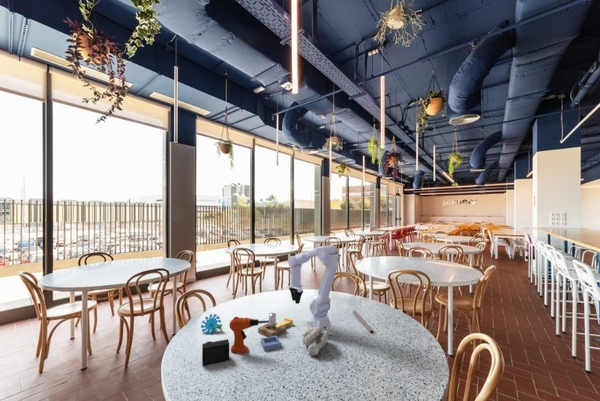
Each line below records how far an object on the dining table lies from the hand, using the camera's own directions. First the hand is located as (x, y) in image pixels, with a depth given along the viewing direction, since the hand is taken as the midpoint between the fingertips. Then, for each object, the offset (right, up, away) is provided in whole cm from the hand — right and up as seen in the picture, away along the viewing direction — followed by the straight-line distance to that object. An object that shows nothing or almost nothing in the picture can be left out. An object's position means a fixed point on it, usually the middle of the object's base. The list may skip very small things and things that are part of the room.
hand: (295, 301), depth 149 cm
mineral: (+9, -9, -31) cm, 33 cm away
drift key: (-7, -10, -9) cm, 15 cm away
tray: (-11, -9, -28) cm, 32 cm away
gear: (-43, -11, -13) cm, 46 cm away
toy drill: (-20, -9, -34) cm, 40 cm away
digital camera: (-32, -9, -40) cm, 52 cm away
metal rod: (+36, -11, -4) cm, 38 cm away
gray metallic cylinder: (-12, -10, -15) cm, 21 cm away
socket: (-10, -10, -13) cm, 19 cm away
